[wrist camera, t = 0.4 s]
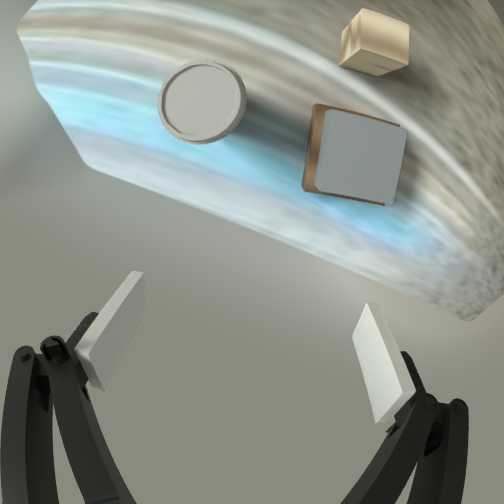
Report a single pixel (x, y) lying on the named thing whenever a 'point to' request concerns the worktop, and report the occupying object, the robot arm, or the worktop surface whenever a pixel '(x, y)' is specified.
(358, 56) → the birch block
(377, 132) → the top slab
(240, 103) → the disposable coffee cup
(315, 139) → the base slab
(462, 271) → the worktop surface
